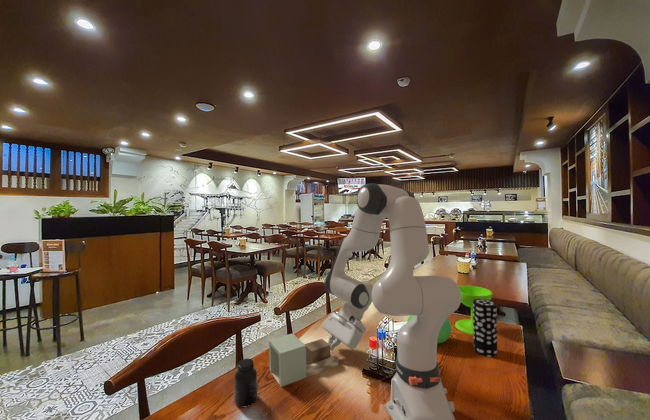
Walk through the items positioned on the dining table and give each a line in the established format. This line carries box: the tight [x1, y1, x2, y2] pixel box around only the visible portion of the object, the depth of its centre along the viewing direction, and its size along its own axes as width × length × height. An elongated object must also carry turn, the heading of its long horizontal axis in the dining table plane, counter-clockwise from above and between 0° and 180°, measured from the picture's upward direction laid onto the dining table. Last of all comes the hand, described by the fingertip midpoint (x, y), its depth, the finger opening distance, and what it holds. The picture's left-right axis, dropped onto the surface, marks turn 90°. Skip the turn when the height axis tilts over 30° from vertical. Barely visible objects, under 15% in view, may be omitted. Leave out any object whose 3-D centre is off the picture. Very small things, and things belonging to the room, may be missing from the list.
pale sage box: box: [268, 333, 308, 388], centre depth 99 cm, size 10×11×11 cm
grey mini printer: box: [270, 354, 340, 388], centre depth 102 cm, size 23×11×4 cm, turn 121°
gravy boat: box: [406, 315, 452, 345], centre depth 121 cm, size 18×17×15 cm
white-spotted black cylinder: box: [472, 299, 498, 358], centre depth 111 cm, size 8×8×20 cm
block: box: [304, 338, 331, 366], centre depth 105 cm, size 8×6×7 cm
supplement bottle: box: [233, 358, 258, 407], centre depth 86 cm, size 7×7×12 cm
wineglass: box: [454, 285, 493, 336], centre depth 132 cm, size 16×16×18 cm
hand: (329, 348), depth 108 cm, fingers closed
